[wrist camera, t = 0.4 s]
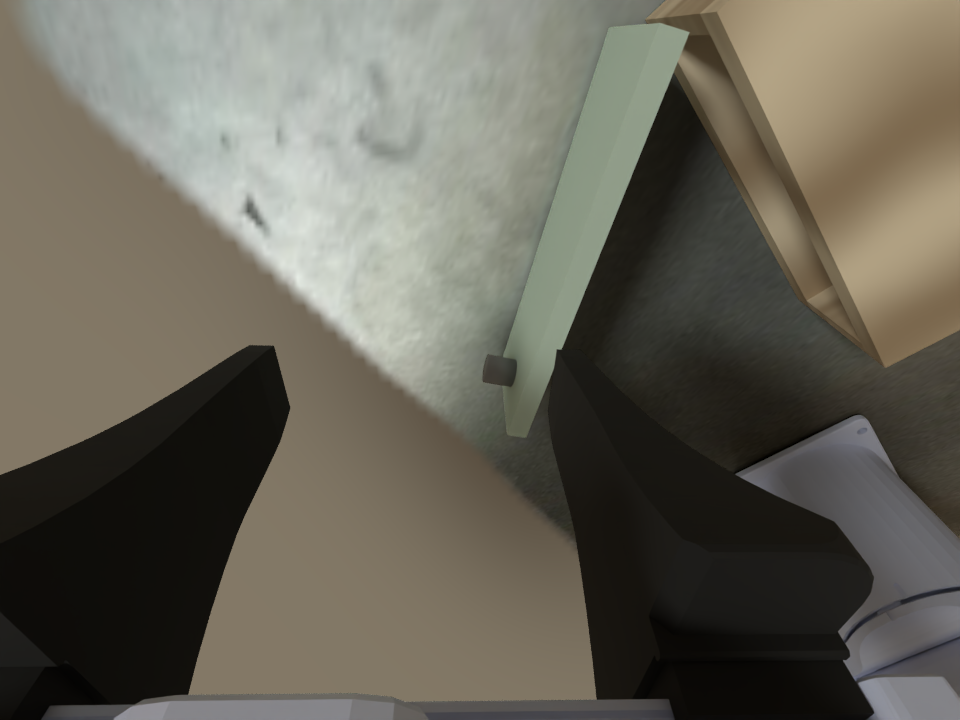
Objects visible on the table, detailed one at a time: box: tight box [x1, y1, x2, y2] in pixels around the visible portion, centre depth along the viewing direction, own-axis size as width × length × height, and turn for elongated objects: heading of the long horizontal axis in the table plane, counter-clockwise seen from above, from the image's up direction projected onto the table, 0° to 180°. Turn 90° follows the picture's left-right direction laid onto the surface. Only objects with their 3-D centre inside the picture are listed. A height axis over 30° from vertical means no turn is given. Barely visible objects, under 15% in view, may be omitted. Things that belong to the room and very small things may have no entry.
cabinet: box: [645, 0, 960, 368], centre depth 15 cm, size 14×10×6 cm
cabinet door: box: [482, 23, 690, 438], centre depth 17 cm, size 14×2×5 cm, turn 166°
